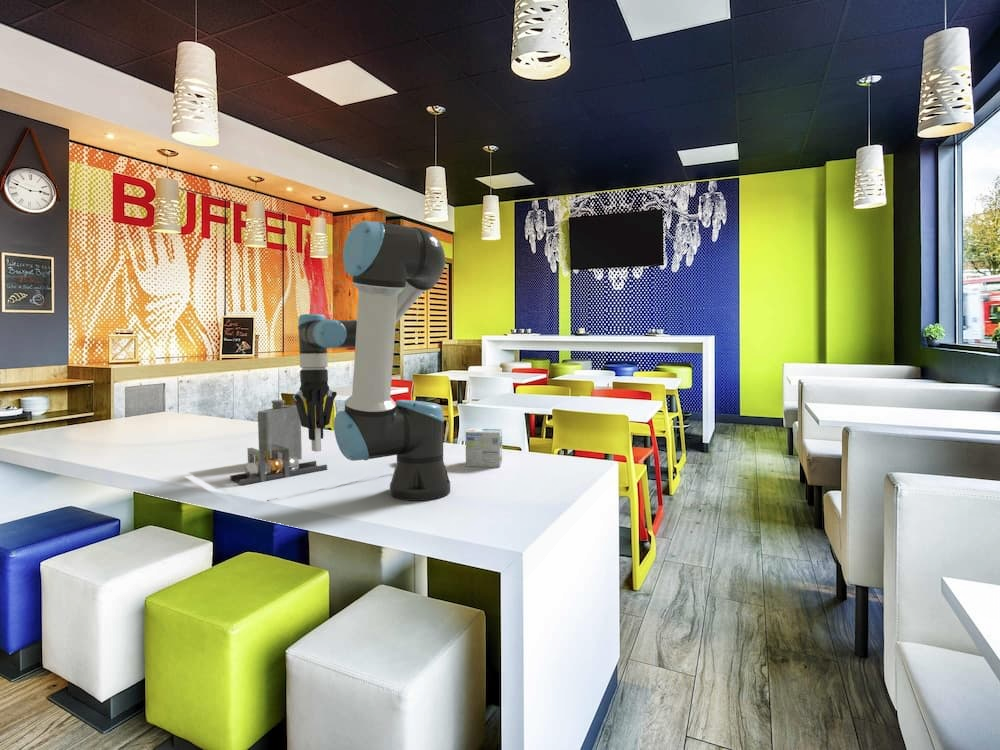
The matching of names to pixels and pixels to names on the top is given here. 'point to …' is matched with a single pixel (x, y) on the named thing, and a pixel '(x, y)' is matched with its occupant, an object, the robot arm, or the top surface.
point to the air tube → (271, 467)
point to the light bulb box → (484, 447)
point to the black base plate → (279, 474)
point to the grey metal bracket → (274, 453)
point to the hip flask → (280, 429)
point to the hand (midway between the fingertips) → (316, 450)
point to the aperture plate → (267, 456)
